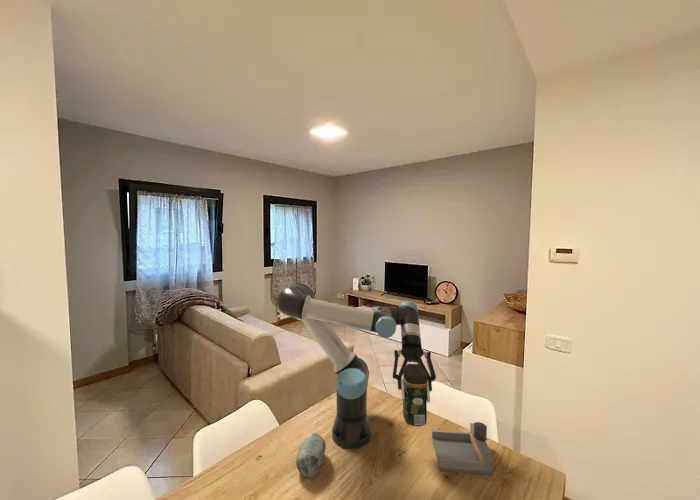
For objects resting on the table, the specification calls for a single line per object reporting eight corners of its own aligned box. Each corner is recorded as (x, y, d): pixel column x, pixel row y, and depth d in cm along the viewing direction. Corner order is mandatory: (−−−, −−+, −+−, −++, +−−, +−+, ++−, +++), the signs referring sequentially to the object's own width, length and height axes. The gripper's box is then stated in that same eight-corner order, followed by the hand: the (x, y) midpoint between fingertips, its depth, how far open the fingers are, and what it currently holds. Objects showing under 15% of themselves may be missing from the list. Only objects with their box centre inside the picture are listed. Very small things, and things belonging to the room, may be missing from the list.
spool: (322, 476, 85) (310, 441, 88) (295, 487, 87) (285, 452, 90) (335, 455, 98) (325, 425, 101) (312, 465, 99) (302, 434, 102)
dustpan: (440, 470, 92) (440, 437, 91) (431, 438, 107) (431, 410, 106) (494, 475, 90) (495, 441, 90) (478, 442, 105) (478, 413, 105)
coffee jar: (400, 410, 105) (401, 361, 104) (422, 411, 104) (423, 361, 104) (405, 427, 95) (406, 373, 94) (428, 428, 95) (430, 374, 94)
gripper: (436, 343, 113) (445, 405, 98) (384, 341, 115) (384, 401, 100) (439, 334, 108) (449, 399, 92) (384, 332, 110) (385, 395, 94)
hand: (415, 400), depth 96 cm, fingers closed on coffee jar, 8 cm apart
